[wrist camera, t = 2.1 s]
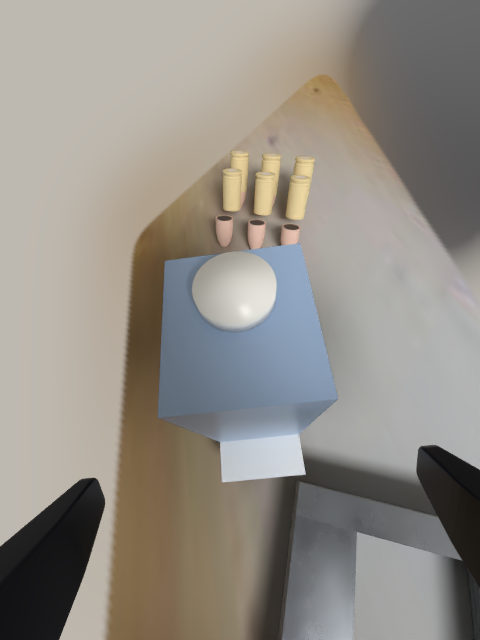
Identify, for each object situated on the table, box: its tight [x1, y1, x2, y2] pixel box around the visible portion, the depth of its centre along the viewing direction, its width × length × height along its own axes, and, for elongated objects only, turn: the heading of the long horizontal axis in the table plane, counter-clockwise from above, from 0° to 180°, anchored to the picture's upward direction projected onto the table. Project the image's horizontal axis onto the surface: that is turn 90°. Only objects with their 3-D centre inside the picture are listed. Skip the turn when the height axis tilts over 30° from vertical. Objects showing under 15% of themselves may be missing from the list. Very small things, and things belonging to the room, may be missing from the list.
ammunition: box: [216, 151, 315, 250], centre depth 25 cm, size 5×7×8 cm
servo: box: [158, 243, 338, 482], centre depth 14 cm, size 10×4×13 cm, turn 5°
